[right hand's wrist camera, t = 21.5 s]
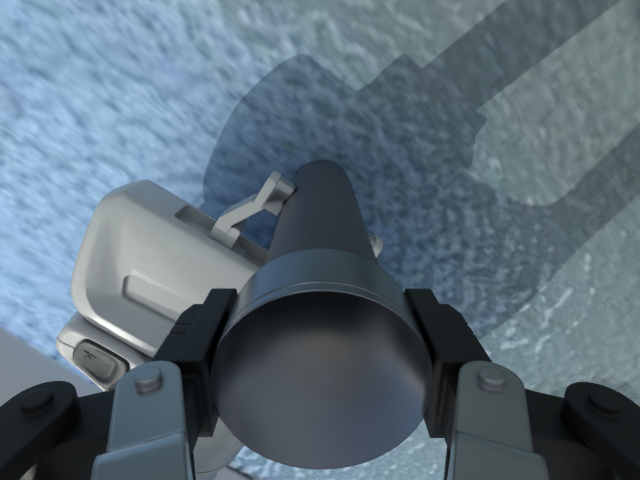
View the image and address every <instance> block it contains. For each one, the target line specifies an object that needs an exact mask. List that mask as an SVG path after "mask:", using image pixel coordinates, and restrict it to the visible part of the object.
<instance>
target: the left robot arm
mask: <svg viewBox="0 0 640 480" xmlns="http://www.w3.org/2000/svg"><path fill="white" fill-rule="evenodd" d="M295 187H296V183H295V182H293V181H292V180H290V179H289V178H287V177H286V176H284V175H283V174H282V173H280V172H278V171H277V170H275V169H274V170H273V172H272V173H271V175H270V176H269V178H268V179H267V181H266V183H265V184H264V186H263V187H262V189H261V191H260V192H259V194H257V193H256V194H254V195H252V196H250V197H248V198H246V199H244V200H242V201H240V202H238V203H236V204H234V205H232V206H230V207H228V208H227V209H226V210H225V211H224V212H223V214H222V215H221V216H220V217H219V219H218V220H216V219H214V218H213V217H211V216H209V215H208V214H206V213H204V212H203V211H201V210H199V209H198V208H196V207H194V206H193V205H191V204H189V203H188V202H186V201H184V200H183V199H181V198H179V197H178V196H176V195H174V194H173V193H171V192H169V191H168V190H166V189H164V188H163V187H161V186H159V185H158V184H156V183H154V182H152V181H150V180H141V181H137V182H133V183H129V184H126V185H123V186H121V187H118V188H116V189H114V190H112V191H111V192H109V193H108V194H107V195H105V196H104V197H103V198H102V200H101V201H100V202H99V204H98V206H97V207H96V209H95V211H94V213H93V216H92V218H91V220H90V222H89V225H88V227H87V230H86V232H85V235H84V238H83V240H82V243H81V246H80V249H79V252H78V255H77V259H76V262H75V266H74V270H73V274H72V279H71V296H72V300H73V303H74V305H75V307H76V309H77V310H78V311H77V312H76V313H75V314H74V315H73V316H72V317H71V318H70V320H69V321H68V322H67V323H66V325H65V326H64V327H63V328H62V330H61V331H60V333H59V335H58V337H57V339H56V348H57V350H58V351H59V353H60V354H61V355H62V356H63V357H64V358H65V359H66V360H68V361H69V362H70V363H71V364H72V365H74V366H75V367H76V368H77V369H79V370H80V371H81V372H82V373H83V374H85V375H86V376H87V377H88V378H89V379H90V380H92V381H93V382H94V383H95V384H96V385H97V386H98V387H99V388H100V389H101V390H102V391H104V392H105V391H109V390H113V389H115V387H116V384H117V382H118V381H119V379H120V378H121V377H122V376H123V375H124V374H125V373H127V372H128V371H129V370H131V369H133V368H134V367H137V366H139V365H141V364H144V363H148V362H151V360H152V359H153V357H154V356H155V354H156V352H157V351H158V349H159V348H160V346H161V345H162V343H163V341H164V340H165V338H166V337H167V335H168V334H169V332H170V330H171V329H172V327H173V326H174V325H175V323H176V321H177V319H178V318H179V316H180V315H181V313H182V312H184V311H185V310H186V309H188V308H189V307H190V306H192V305H193V304H203V303H204V301H205V299H206V297H207V296H208V294H209V292H210V290H211V289H212V288H236V289H237V292H238V294H239V292H240V290H241V289H242V287H243V286H244V285H245V283H246V282H247V281H248V279H249V278H250V277H251V276H252V275H253V274H255V273H256V272H257V271H258V270H259V269H260V268H262V267H263V266H264V263H265V260H266V257H267V254H268V250H266V249H265V248H263V247H261V246H260V245H258V244H256V243H255V242H253V241H251V240H250V239H248V238H246V237H245V236H243V235H241V234H240V233H241V232H242V230H243V228H244V226H245V225H246V223H247V219H246V218H248V217H249V216H251V215H253V214H255V213H257V212H259V211H261V210H263V209H266V210H267V211H269V212H271V213H272V214H274V215H276V216H278V215H279V213H280V212H281V210H282V209H283V207H284V204H285V201H286V200H288V199H289V198H290V196H291V195H292V193H293V191H294V189H295ZM366 230H367V233H368V236H369V239H370V242H371V245H372V248H373V251H374V253H375V256H376V258H377V256H378V255H379V254H380V252H381V251H382V248H383V246H384V244H383V242H382V239H381V238H380V237H379V236H377V235H376V234H374V233H373V232H371V231H369V230H368V229H366ZM243 447H244V444H242V443H241V442H240V441H239V440H238V439H237V438H236V437H234V436H233V435H232V433H231V432H230V431H229V430H228V429H227V428H226V427H225V425H224V424H223V422H222V421H221V419H220V417H219V418H218V421H217V424H216V427H215V430H214V433H213V437H198V440H197V442H196V445H195V448H194V458H195V467H196V477H197V480H215V478H216V475H217V472H218V471H219V470H221V469H223V468H224V467H225V466H226V465H228V464H229V463H230V462H231V461H232V460H233V459H234V458H235V457H236V455H237V454H238V453H239V452H240V450H241V449H242V448H243ZM19 480H20V479H19Z"/></svg>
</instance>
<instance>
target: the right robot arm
mask: <svg viewBox="0 0 640 480" xmlns="http://www.w3.org/2000/svg"><path fill="white" fill-rule="evenodd" d="M404 294H405V296H406V298H407V300H408V303H409V305H410V307H411V310H412V312H413V314H414V317H415V319H416V322H417V324H418V326H419V329H420V331H421V333H422V336H423V338H424V340H425V343H426V345H427V347H428V350H429V353H430V356H431V358H432V363H433V375H432V382H431V390H430V397H429V405H428V410H427V412H426V414H425V416H424V420H425V423H426V426H427V429H428V432H429V436H430V438H445V441H446V444H447V451H446V458H445V467H444V477H443V480H640V407H639V406H638V405H637V404H635V403H634V402H633V401H631V400H630V399H629V398H627V397H626V396H624V395H622V394H621V393H619V392H617V391H615V390H613V389H610V388H608V387H605V386H602V385H599V384H595V383H589V382H578V383H573V384H571V385H569V386H568V387H567V389H566V392H565V395H564V398H561V397H557V396H552V395H548V394H543V393H539V392H535V391H531V390H528V389H525V387H524V384H523V382H522V381H521V379H520V378H519V377H518V376H517V375H516V374H515V373H513V372H512V371H511V370H509V369H507V368H506V367H503V366H501V365H499V364H496V363H492V361H491V360H490V358H489V357H488V355H487V353H486V352H485V350H484V349H483V347H482V346H481V344H480V343H479V341H478V340H477V338H476V336H475V335H473V332H472V330H471V329H470V327H469V326H467V322H466V321H465V319H464V318H463V316H462V315H461V313H459V312H458V311H457V310H455V309H454V308H452V307H451V306H450V305H448V304H439V303H438V301H437V299H436V297H435V296H434V294H433V292H432V291H431V289H406V290H405V292H404ZM237 296H238V292H237V289H236V288H212V289H211V290H210V292H209V294H208V296H207V297H206V299H205V301H204V303H203V304H193V305H192V306H190V307H189V308H188V309H186V310H185V311H184V312H182V313H181V315H180V316H179V318H178V319H177V321H176V323H175V325H174V326H173V327H172V329H171V330H170V332H169V334H168V335H167V337H166V338H165V340H164V341H163V343H162V345H161V346H160V348H159V349H158V351H157V352H156V354H155V356H154V357H153V359H152V360H151V362H148V363H144V364H141V365H139V366H137V367H134V368H133V369H131V370H129V371H128V372H127V373H125V374H124V375H123V376H122V377H121V378H120V379H119V381H118V382H117V384H116V387H115V389H113V390H109V391H105V392H101V393H96V394H92V395H87V396H83V397H78V396H77V393H76V389H75V387H74V386H73V385H72V384H71V383H69V382H65V381H52V382H46V383H42V384H39V385H36V386H33V387H31V388H28V389H26V390H24V391H22V392H21V393H19V394H17V395H16V396H14V397H13V398H11V399H10V400H9V401H7V402H6V403H5V404H3V405H2V406H1V407H0V480H19V479H20V480H197V477H196V467H195V458H194V448H195V445H196V442H197V440H198V437H213V433H214V430H215V427H216V424H217V421H218V418H219V416H218V414H217V411H216V409H215V407H214V403H213V395H212V388H211V380H210V365H211V360H212V357H213V354H214V352H215V349H216V347H217V344H218V342H219V339H220V337H221V334H222V332H223V329H224V327H225V324H226V322H227V320H228V317H229V315H230V312H231V310H232V307H233V305H234V302H235V300H236V298H237Z"/></svg>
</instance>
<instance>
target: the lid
mask: <svg viewBox="0 0 640 480" xmlns="http://www.w3.org/2000/svg"><path fill="white" fill-rule="evenodd" d="M432 375H433V363H432V358H431V356H430V353H429V350H428V347H427V345H426V343H425V340H424V338H423V336H422V333H421V331H420V329H419V326H418V324H417V322H416V319H415V317H414V314H413V312H412V310H411V307H410V305H409V303H408V300H407V298H406V296H405V294H404V293H403V291H402V289H401V287H400V286H399V285H398V284H397V282H396V281H395V280H394V279H393V278H392V277H391V276H390V275H389V274H388V273H387V272H386V271H385V270H384V269H382V268H381V267H380V266H378V265H377V264H375V263H373V262H372V261H370V260H368V259H366V258H364V257H361V256H359V255H356V254H354V253H350V252H346V251H342V250H335V249H308V250H301V251H297V252H293V253H289V254H287V255H284V256H281V257H279V258H277V259H275V260H273V261H271V262H269V263H267V264H266V265H265V266H263V267H262V268H260V269H259V270H258V271H257V272H256V273H255V274H253V275H252V276H251V277H250V278H249V279H248V281H247V282H246V283H245V285H244V286H243V287H242V289H241V290H240V292H239V294H238V296H237V298H236V300H235V302H234V305H233V307H232V310H231V312H230V315H229V317H228V320H227V322H226V324H225V327H224V329H223V332H222V334H221V337H220V339H219V342H218V344H217V347H216V349H215V352H214V354H213V357H212V360H211V365H210V380H211V388H212V395H213V403H214V407H215V409H216V411H217V414H218V416H219V417H220V419H221V421H222V422H223V424H224V425H225V427H226V428H227V429H228V430H229V431H230V432H231V433H232V435H233V436H234V437H236V438H237V439H238V440H239V441H240V442H241V443H242V444H244V445H245V446H246V447H248V448H249V449H251V450H252V451H254V452H256V453H258V454H259V455H261V456H263V457H265V458H268V459H270V460H273V461H275V462H278V463H281V464H285V465H288V466H293V467H298V468H306V469H338V468H344V467H350V466H355V465H358V464H362V463H365V462H368V461H370V460H373V459H375V458H378V457H380V456H382V455H383V454H385V453H387V452H389V451H391V450H392V449H394V448H395V447H397V446H398V445H399V444H401V443H402V442H403V441H404V440H405V439H406V438H408V437H409V436H410V435H411V433H412V432H413V431H414V430H415V429H416V428H417V427H418V425H419V424H420V422H421V421H422V419H423V418H424V416H425V414H426V412H427V410H428V405H429V397H430V390H431V382H432Z"/></svg>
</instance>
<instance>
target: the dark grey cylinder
mask: <svg viewBox="0 0 640 480" xmlns="http://www.w3.org/2000/svg"><path fill="white" fill-rule="evenodd" d="M292 181H293V182H295V183H296V187H295V189H294V191H293V193H292V195H291V196H290V198H289V199H288V200H286V201H285V204H284V207H283V209H282V211H281V214H280V217H279V220H278V223H277V227H276V230H275V233H274V236H273V239H272V242H271V245H270V248H269V251H268V254H267V257H266V260H265V263H264V266H265V265H266V264H267V263H269V262H271V261H273V260H275V259H277V258H279V257H281V256H284V255H287V254H289V253H293V252H297V251H301V250H308V249H335V250H342V251H346V252H350V253H354V254H356V255H359V256H361V257H364V258H366V259H368V260H370V261H372V262H373V263H375V264H377V265H378V262H377V259H376V256H375V253H374V251H373V248H372V245H371V242H370V239H369V236H368V233H367V230H366V227H365V224H364V221H363V218H362V215H361V212H360V209H359V207H358V204H357V201H356V198H355V195H354V192H353V189H352V186H351V183H350V180H349V178H348V176H347V174H346V173H345V172H344V170H343V169H342V168H340V167H339V166H338V165H336V164H334V163H332V162H329V161H323V160H318V161H312V162H309V163H307V164H305V165H304V166H302V167H301V168H300V169H299V170H298V171H297V172H296V173H295V175H294V176H293V178H292ZM378 266H379V265H378Z"/></svg>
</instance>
